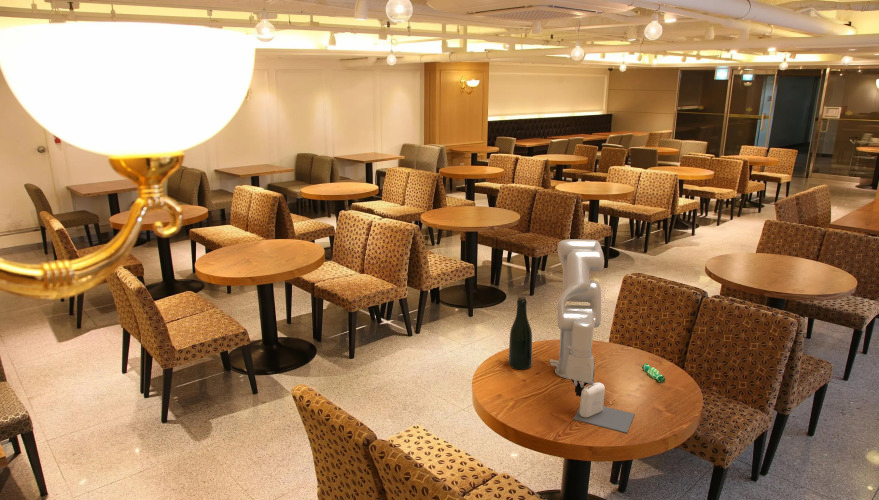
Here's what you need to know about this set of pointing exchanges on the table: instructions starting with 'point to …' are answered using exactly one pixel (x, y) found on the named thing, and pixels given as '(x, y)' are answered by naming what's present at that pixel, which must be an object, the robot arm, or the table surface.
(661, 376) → the candy
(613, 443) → the table surface
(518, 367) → the dark green wine bottle
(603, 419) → the rubber mat
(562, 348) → the robot arm
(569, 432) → the table surface
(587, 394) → the photo printer
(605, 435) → the table surface
